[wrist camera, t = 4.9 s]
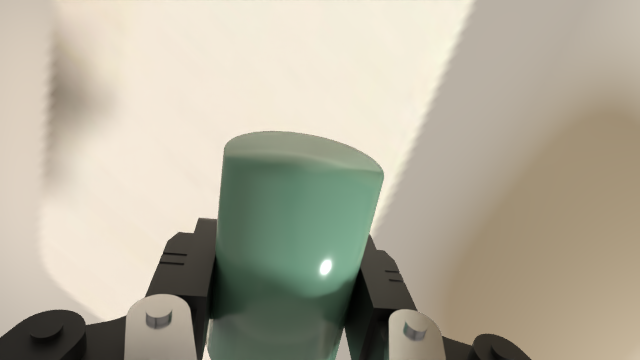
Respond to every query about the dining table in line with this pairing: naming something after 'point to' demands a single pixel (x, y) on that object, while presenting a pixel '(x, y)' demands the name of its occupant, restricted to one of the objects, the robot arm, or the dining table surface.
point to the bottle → (288, 245)
